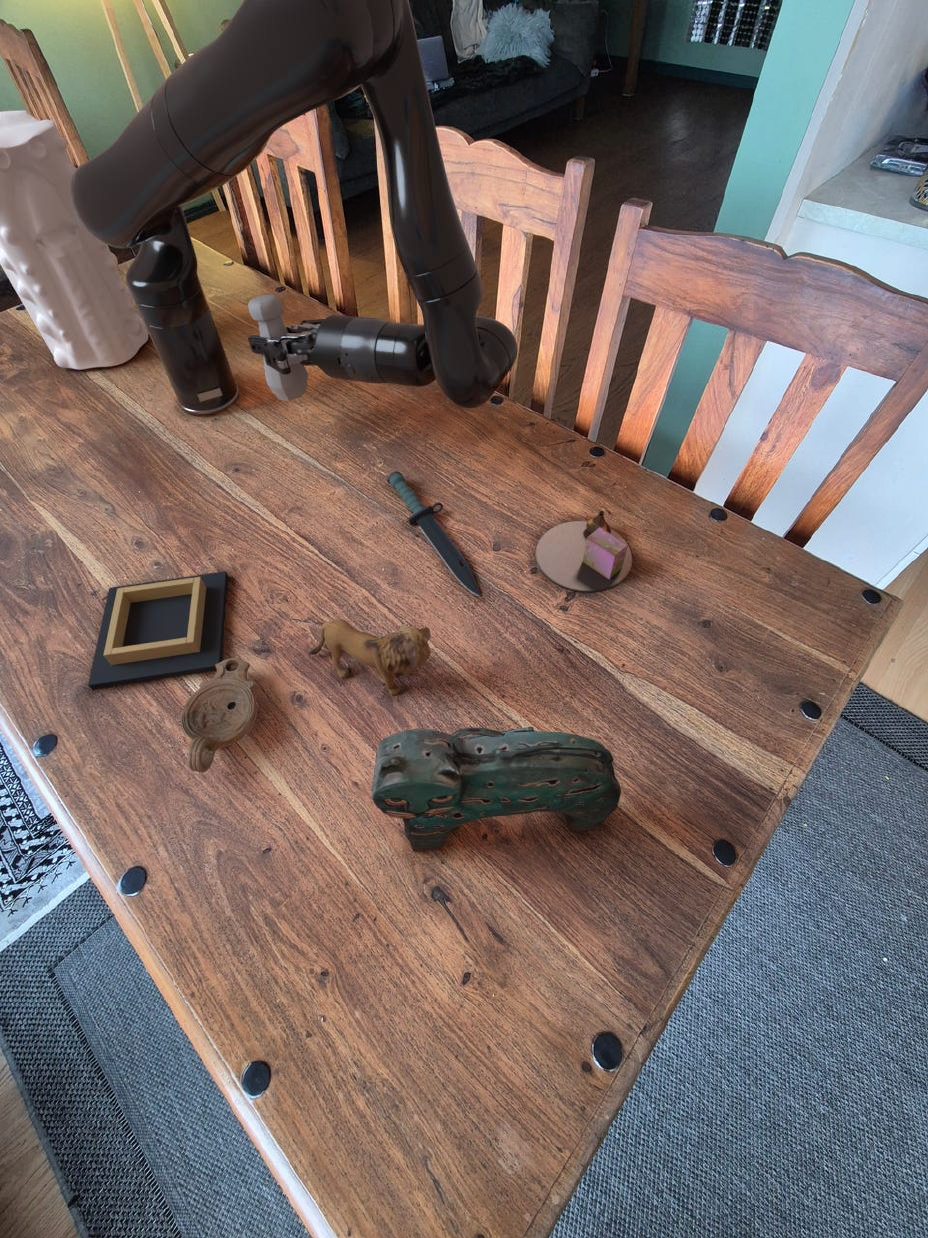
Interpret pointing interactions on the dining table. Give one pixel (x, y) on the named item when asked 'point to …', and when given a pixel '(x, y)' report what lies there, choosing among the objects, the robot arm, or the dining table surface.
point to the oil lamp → (219, 712)
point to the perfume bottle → (584, 555)
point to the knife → (434, 532)
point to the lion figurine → (377, 649)
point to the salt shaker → (272, 325)
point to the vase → (59, 252)
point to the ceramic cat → (490, 779)
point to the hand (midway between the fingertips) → (260, 338)
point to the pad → (161, 630)
